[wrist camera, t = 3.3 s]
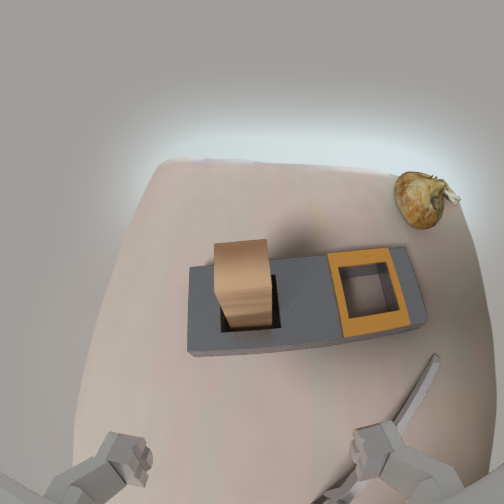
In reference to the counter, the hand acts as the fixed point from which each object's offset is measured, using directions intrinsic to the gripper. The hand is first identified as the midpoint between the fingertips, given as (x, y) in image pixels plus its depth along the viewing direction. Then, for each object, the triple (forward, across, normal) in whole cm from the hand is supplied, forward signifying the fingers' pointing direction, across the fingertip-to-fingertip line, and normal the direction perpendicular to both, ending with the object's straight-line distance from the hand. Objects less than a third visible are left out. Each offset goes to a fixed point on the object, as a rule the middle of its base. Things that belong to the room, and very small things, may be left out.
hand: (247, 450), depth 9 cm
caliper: (+10, -12, +14) cm, 21 cm away
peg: (+20, 0, +3) cm, 20 cm away
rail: (+20, -6, +3) cm, 21 cm away
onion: (+28, -23, -4) cm, 36 cm away
